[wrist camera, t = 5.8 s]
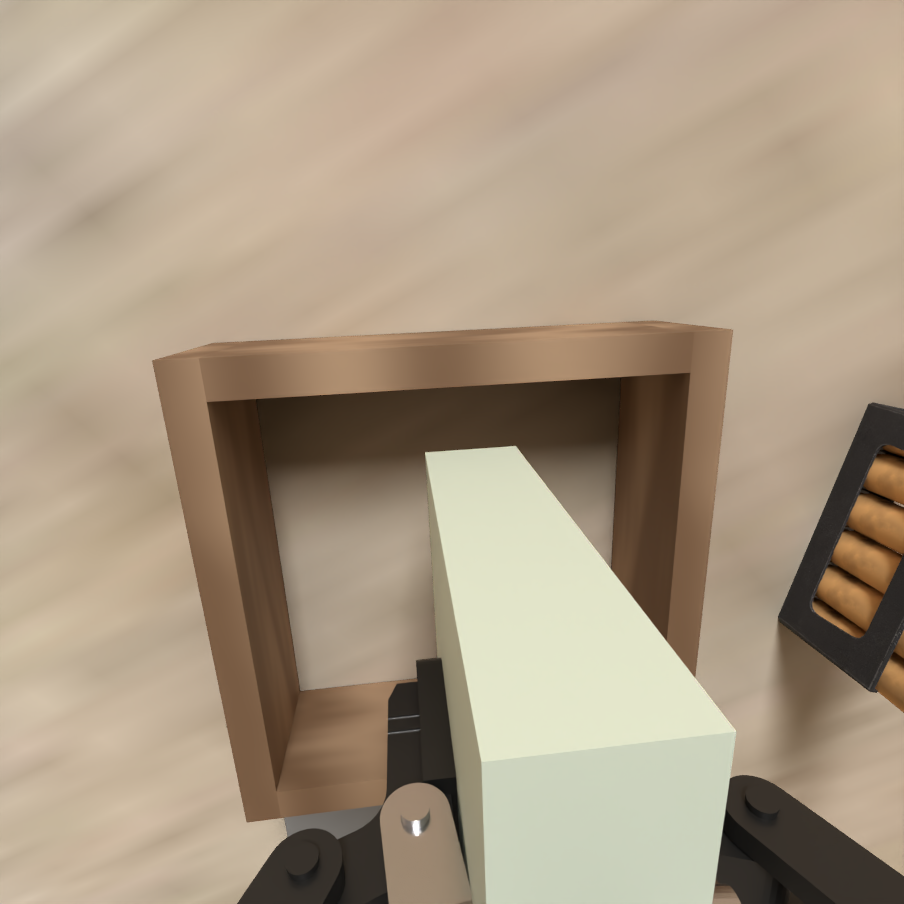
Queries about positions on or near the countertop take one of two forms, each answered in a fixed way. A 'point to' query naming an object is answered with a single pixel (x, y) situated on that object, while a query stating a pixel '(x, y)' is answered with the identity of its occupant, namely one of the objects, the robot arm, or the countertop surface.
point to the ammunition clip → (859, 563)
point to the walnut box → (406, 368)
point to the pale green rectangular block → (564, 705)
